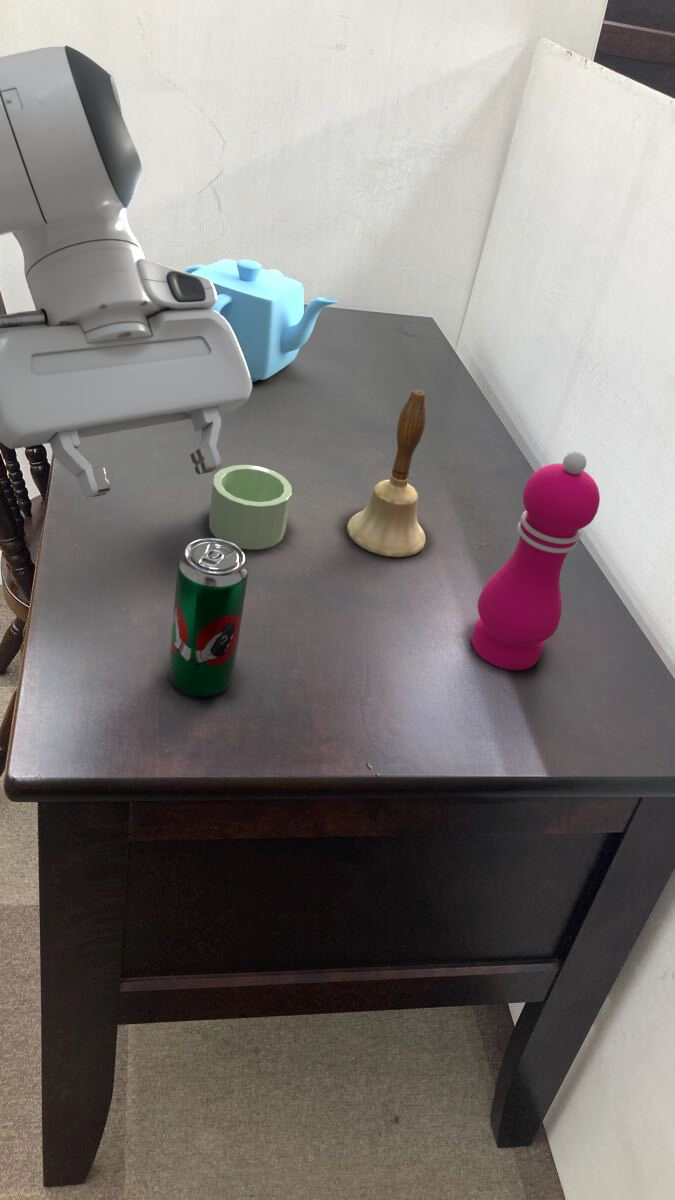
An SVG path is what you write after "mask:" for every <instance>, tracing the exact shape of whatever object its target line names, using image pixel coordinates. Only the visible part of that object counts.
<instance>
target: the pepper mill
mask: <svg viewBox="0 0 675 1200" xmlns="http://www.w3.org/2000/svg"><path fill="white" fill-rule="evenodd" d="M586 466H587V459H586V456H585V455H584V453H582V452H580V451H577V450H575V451H570V452H567V454H566V455H565V456H564V457H563V459H562V463H551V464H547V465H544V466H541V467H540V468H538V469H537V470H535V471H534V472H533V473H532V475H531V476H530V477H529V478H528V479H527V481H526V484H525V486H524V489H523V491H522V503H523V506H524V509H525V510H524V511H523V513H522V514H521V516H520V521H519V522H518V524H517V532H518V534H519V539H518V543H517V544H516V547H515V550H514V551H513V553H512V554H511V556H510V558H509V559H508V560H507V561H506V562H505V563H504V564H503V565H502V566H501V567H500V568H499V569H498V570H497V571H496V572H495V573H494V574H493V575H492V576H491V577H490V578H489V579H488V581H487V583H486V584H485V585H484V587H483V588H482V590H481V593H480V595H479V597H478V600H477V613H478V616H479V618H478V619H477V621H476V623H475V626H474V629H473V631H472V634H471V643H472V647H473V649H474V651H475V652H476V654H478V655H479V656H480V657H481V659H483V660H484V661H486V662H487V663H489V664H491V665H493V666H495V667H498V668H500V669H505V670H510V671H522V670H527V669H530V668H532V667H533V666H534V665H535V664H536V663H537V662H538V660H539V658H540V655H541V653H542V651H543V649H544V645H545V642H546V641H547V640H548V639H550V638H551V637H552V636H553V635H554V634H555V633H556V631H557V630H558V627H559V625H560V620H561V617H562V608H563V607H562V603H563V601H562V592H561V588H560V579H561V571H562V568H563V564H564V561H565V559H566V557H567V555H568V553H569V552H572V551H573V550H575V549H576V548H577V546H578V540H579V539H580V538H581V535H582V529H583V528H586V527H587V526H589V525H590V524H591V523H592V521H594V519H595V517H596V515H597V514H598V510H599V506H600V501H601V496H600V490H599V486H598V485H597V482H596V481H595V480H594V479H593V477H592V476H591V475H590V474H589V473H587V472H586V471H585V469H586Z"/></svg>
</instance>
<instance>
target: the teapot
mask: <svg viewBox="0 0 675 1200" xmlns="http://www.w3.org/2000/svg"><path fill="white" fill-rule="evenodd" d="M262 267H263V266H262V264H260V262H259V263H258V262H257V261H254V260H250V259H241V260H237V261H236V260H233V259H229V258H223V259H221V260H218V261H215V262H212V263H209V264H208V265H204V264H203V265H202V264H193V265H190V266H189V267H187V268H186V269H185V270H183V272H187V273H191V274H195V275H198V276H202V277H205V278H207V279H209V280H210V281H211V282H212V283H213V285H214V287H215V290H216V293H217V302H216V303H215V304H214V306H213V307H212V308H211V310H214V311H216V312H218V313H219V314H221V315H222V316H223V317H224V318H225V319H226V320H227V322H228V323H229V324H230V326H231V328H232V330H233V332H234V334H235V336H236V339H237V341H238V343H239V346H240V348H241V351H242V353H243V356H244V359H245V361H246V364H247V367H248V370H249V373H250V377H251V381H252V383H255V382H257V381H258V380H263V381H264V380H268V379H269V378H270V377H272V376H273V375H275V374H277V373H278V372H279V371H281V370H283V369H284V368H285V367H286V366H288V365H289V364H291V363H292V362H293V361H294V360H295V359H296V358H297V356H298V354H299V351H300V348H301V347H303V346H304V345H305V344H306V343H307V342H308V340H309V338H310V337H311V335H312V332H313V330H314V328H315V324H316V322H317V319H318V317H319V315H320V313H321V312H322V311H323V309H325V308H326V307H328V306H330V305H333V304H337V303H339V300H338V299H334V298H330V297H324V296H323V297H322V296H321V297H316V298H314V299H312V300H311V301H310V302H309V303H308V304H307V306H306V307H305V294H304V293H305V291H304V284H303V283H302V282H300V281H299V280H296V279H293V278H290V277H287V276H285V275H283V273H282V271H280V270H278V269H269V270H267V269H264V268H262Z"/></svg>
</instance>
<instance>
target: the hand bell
mask: <svg viewBox="0 0 675 1200" xmlns="http://www.w3.org/2000/svg"><path fill="white" fill-rule="evenodd" d="M426 405H427V404H426V393H425V391H424V390H421V389H412V391H411V393H410V395H409V397H408V399H406V402H405V403H404V405H403V407H402V409H401V411H400V413H399V417H398V421H397V426H396V443H397V449H396V450H397V451H396V454H395V455H396V456H395V459H394V462H393V468H392V469H391V476H390V479H384V480H381V481H379V482H378V483H376V485H375V486H374V488H373V491H372V493H371V497H370V498H369V500H368V503H367V504H366V506H365V507H364V508H363V510H360V511H359V512H357V513H355V514H354V515H353V516H352V517H351V518H350V519H349V520H348V522H347V525H346V531H347V534H348V536H349V537H350V539H351V540H352V541H353V543H355V544H356V545H358V547H360V548H361V549H363V550H366V551H367V552H371V553H372V554H374V555H375V554H376V555H379V556H383V557H389V558H404V557H410V556H414V555H416V554H418V553H419V552H422V550H423V549H424V547H425V546H426V543H427V542H426V534H425V531H424V530H423V528H422V527H421V524H419V522H418V516H417V508H418V499H419V495H418V491H417V490H416V488H414V487H413V486H412V485H411V484H409V482H408V481H409V476H410V469H411V463H412V460H413V459H412V458H413V454H414V452H415V450H416V448H417V446H418V445H419V443H420V442H421V439H422V437H423V434H424V431H425V426H426V422H427V406H426Z"/></svg>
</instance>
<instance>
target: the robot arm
mask: <svg viewBox="0 0 675 1200" xmlns="http://www.w3.org/2000/svg"><path fill="white" fill-rule="evenodd" d="M121 105H122V104H121V99H120V96H119V91H118V88H117V85H116V82H115V79H114V78H113V76H112V74H110V73H109V72H108V71H107V70H105V69H104V68H103V67H102V66H100V65H99V64H98V63H97V62H95V61H94V60H93V59H91V58H90V57H88V56H87V55H86V54H84V53H83V52H80V51H79V50H77V49H75V48H74V47H71V46H68V45H65V46H48V47H41V48H36V49H32V50H27V51H22V52H18V53H13V54H7V55H3V56H0V236H3V235H8V234H11V233H12V235H13V236H14V238H15V239H16V241H17V242H18V245H19V246H20V249H21V251H22V255H23V261H24V262H23V269H24V272H23V273H24V278H25V281H26V283H27V288H28V290H29V294H30V297H31V300H32V302H33V305H34V308H35V310H25V311H18V312H13V313H7V314H0V443H1V444H2V445H4V446H5V447H6V448H7V449H10V450H16V449H22V448H23V449H24V448H28V447H29V448H30V447H34V446H40V445H46V444H49V445H50V448H51V451H52V454H53V457H54V459H56V460H57V461H58V463H60V464H61V465H62V466H63V467H64V468H65V469H66V470H68V472H69V473H70V474H71V475H73V476H74V477H75V478H77V481H78V484H79V487H80V490H81V493H82V496H83V498H84V499H92V498H96V497H100V496H105V495H107V493H109V492H110V491H111V484H110V481H109V480H108V479H107V472H106V469H105V466H104V465H103V466H98V467H93V465H92V464H91V463H90V462H89V461H88V460H87V459H86V458H85V457H84V456H83V455H82V454H81V453H80V451H79V450H78V448H79V447H80V446H81V445H82V442H81V438H88V437H93V436H99V435H100V436H101V435H104V434H105V435H106V434H111V433H117V432H122V431H128V430H134V429H140V428H147V427H153V426H158V425H164V424H169V423H176V422H182V421H188V420H190V421H191V424H192V427H193V430H194V432H201V433H200V439H199V447H198V448H197V449H196V450H195V451H193V452H192V453H191V454H189V456H190V459H191V462H192V463H193V465H194V471H195V473H196V474H197V475H202V474H209V473H214V472H217V470H219V469H221V468H222V460H221V457H220V454H219V451H218V447H217V445H218V441H219V437H220V430H221V427H222V418H221V415H224V414H229V413H232V412H234V411H235V410H237V409H238V408H240V407H242V405H244V404H245V403H247V402H248V400H249V399H250V396H251V393H252V390H253V382H252V381H251V377H250V373H249V370H248V367H247V364H246V361H245V359H244V356H243V353H242V351H241V348H240V346H239V343H238V341H237V339H236V336H235V334H234V332H233V330H232V328H231V326H230V324H229V323H228V322H227V320H226V319H225V318H224V317H223V316H222V315H221V314H219V313H218V312H216V311H214V310H211V308H212V307H213V306H214V304H215V303H216V302H217V293H216V290H215V287H214V285H213V283H212V282H211V281H210V280H209V279H207V278H205V277H202V276H198V275H195V274H191V273H187V272H184V270H179V269H176V268H173V267H170V266H168V265H167V266H166V265H164V264H161V263H158V262H156V261H154V260H151V259H147V258H145V254H144V252H143V250H142V247H141V245H140V243H139V242H138V240H137V238H136V237H135V236H134V234H133V232H132V231H131V227H130V226H129V224H128V219H127V209H128V208H129V206H130V205H131V203H132V200H133V198H134V196H135V193H136V191H137V188H138V187H139V184H140V180H141V179H142V175H143V166H142V165H143V164H142V161H141V158H140V156H139V153H138V150H137V148H136V146H135V145H136V144H135V143H134V141H133V138H132V136H131V134H130V132H129V129H128V126H127V125H126V122H125V119H124V117H123V111H122V106H121Z"/></svg>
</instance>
